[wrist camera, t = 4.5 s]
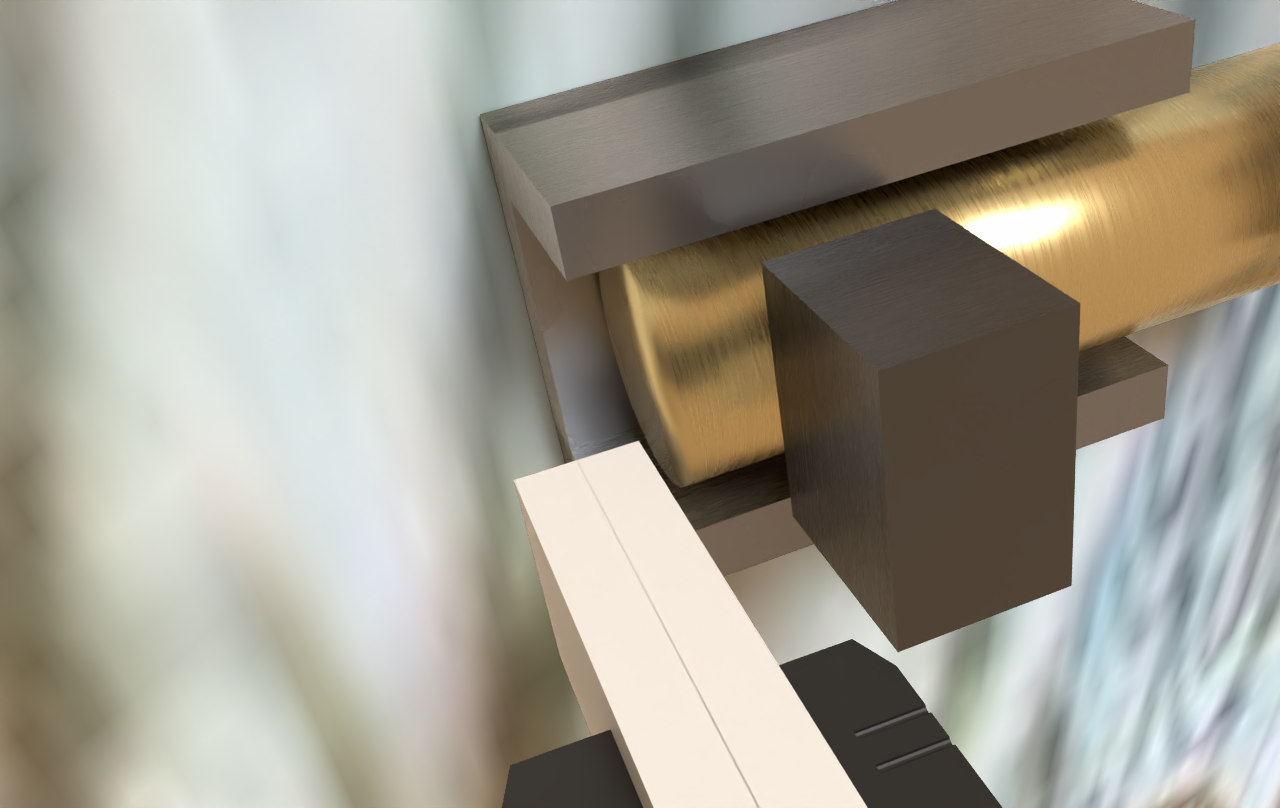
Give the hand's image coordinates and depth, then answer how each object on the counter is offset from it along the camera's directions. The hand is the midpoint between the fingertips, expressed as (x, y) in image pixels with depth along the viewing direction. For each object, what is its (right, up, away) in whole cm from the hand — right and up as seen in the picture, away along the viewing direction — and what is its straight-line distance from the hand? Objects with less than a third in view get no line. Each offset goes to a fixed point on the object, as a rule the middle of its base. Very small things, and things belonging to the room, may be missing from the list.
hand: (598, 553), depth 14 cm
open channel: (+3, +5, +6) cm, 8 cm away
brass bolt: (+6, +5, +6) cm, 10 cm away
